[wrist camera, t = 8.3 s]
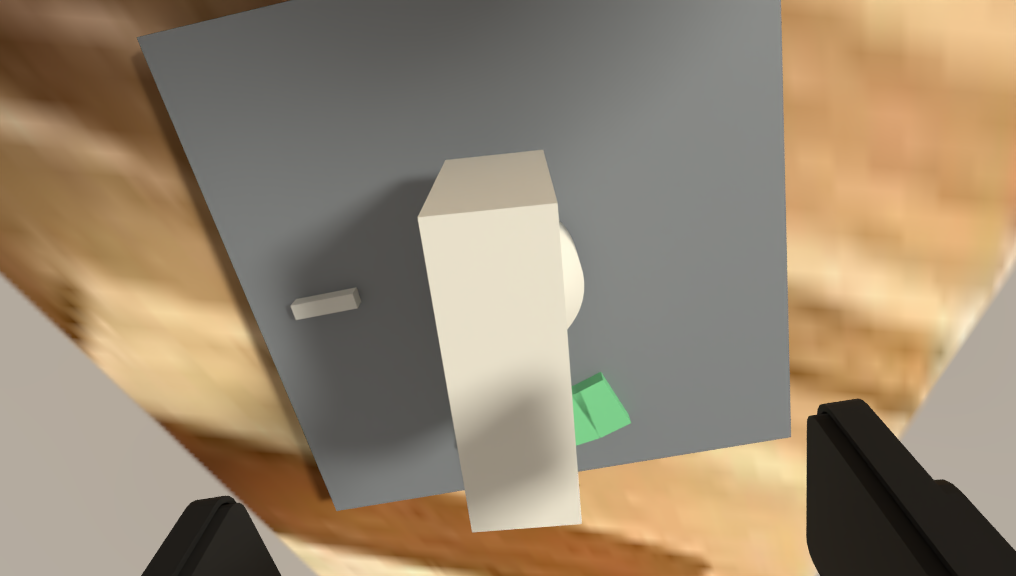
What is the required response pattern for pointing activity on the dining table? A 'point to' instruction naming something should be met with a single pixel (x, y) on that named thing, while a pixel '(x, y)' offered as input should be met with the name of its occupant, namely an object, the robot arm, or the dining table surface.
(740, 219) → the dial board
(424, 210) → the dial knob
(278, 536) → the dining table surface
